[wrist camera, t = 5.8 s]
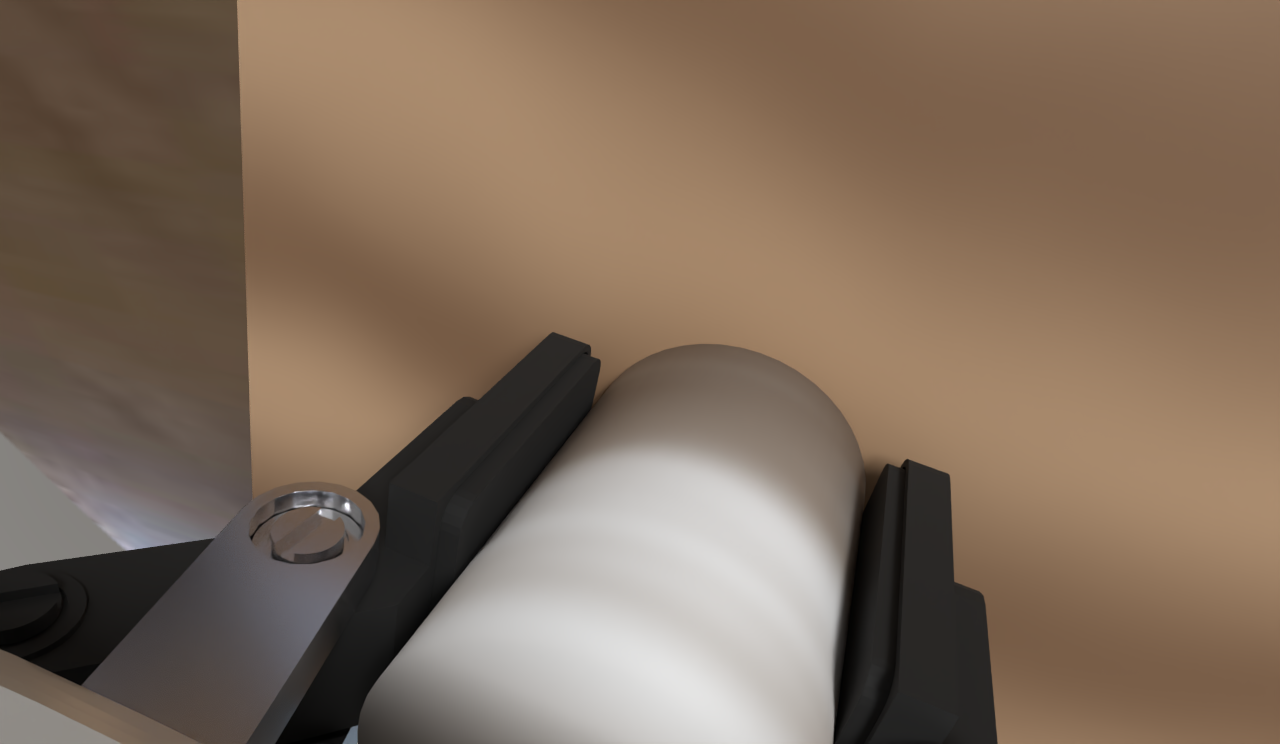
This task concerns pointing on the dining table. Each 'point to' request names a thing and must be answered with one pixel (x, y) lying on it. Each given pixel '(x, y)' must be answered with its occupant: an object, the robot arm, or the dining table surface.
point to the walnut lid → (791, 341)
